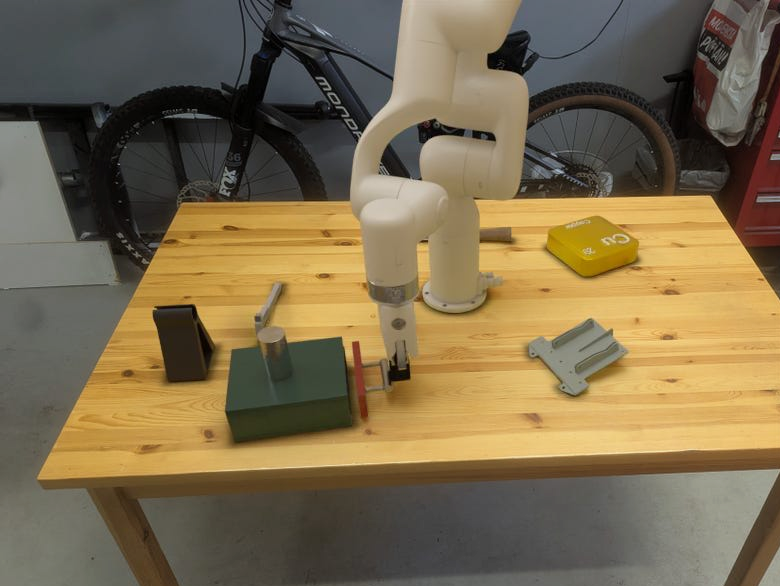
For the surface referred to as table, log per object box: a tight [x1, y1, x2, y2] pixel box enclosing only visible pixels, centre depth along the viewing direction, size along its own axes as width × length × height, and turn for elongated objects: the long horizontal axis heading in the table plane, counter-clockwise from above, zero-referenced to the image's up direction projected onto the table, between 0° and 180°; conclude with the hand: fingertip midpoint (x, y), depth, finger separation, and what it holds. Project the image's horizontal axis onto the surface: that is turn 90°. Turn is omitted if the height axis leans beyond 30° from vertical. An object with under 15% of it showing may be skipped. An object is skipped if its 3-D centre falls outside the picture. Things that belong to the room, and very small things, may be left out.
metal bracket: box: [528, 317, 629, 396], centre depth 115 cm, size 14×6×15 cm
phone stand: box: [151, 303, 216, 383], centre depth 110 cm, size 9×6×12 cm, turn 6°
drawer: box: [343, 340, 394, 419], centre depth 106 cm, size 21×13×5 cm, turn 102°
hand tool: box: [423, 226, 512, 242], centre depth 148 cm, size 6×3×25 cm
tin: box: [256, 325, 293, 381], centre depth 100 cm, size 4×4×8 cm
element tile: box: [546, 215, 640, 278], centre depth 142 cm, size 15×15×5 cm
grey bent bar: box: [253, 282, 283, 344], centre depth 123 cm, size 20×1×6 cm, turn 5°
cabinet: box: [224, 335, 353, 443], centre depth 105 cm, size 18×15×7 cm
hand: (400, 377), depth 108 cm, fingers closed
